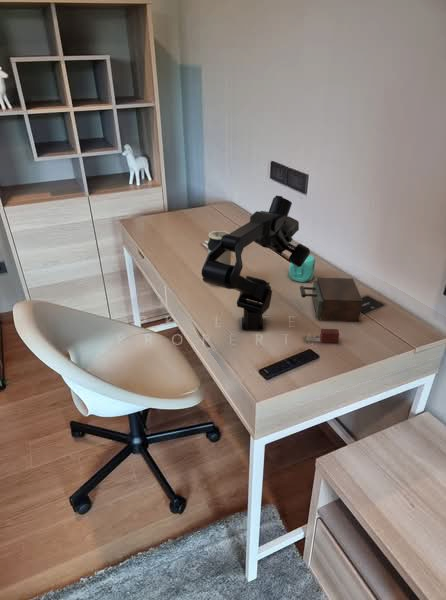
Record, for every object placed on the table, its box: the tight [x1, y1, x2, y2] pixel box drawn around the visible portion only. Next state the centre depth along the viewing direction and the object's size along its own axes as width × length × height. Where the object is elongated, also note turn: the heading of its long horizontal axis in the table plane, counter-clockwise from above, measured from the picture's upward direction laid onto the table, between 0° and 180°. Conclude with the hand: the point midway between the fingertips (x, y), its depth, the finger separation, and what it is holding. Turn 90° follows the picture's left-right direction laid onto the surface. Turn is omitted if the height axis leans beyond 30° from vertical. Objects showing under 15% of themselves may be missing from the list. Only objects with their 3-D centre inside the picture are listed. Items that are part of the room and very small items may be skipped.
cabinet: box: [316, 277, 363, 323], centre depth 137 cm, size 12×15×8 cm
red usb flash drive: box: [305, 328, 340, 344], centre depth 123 cm, size 9×2×3 cm, turn 87°
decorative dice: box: [288, 254, 316, 283], centre depth 156 cm, size 8×8×8 cm
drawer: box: [299, 280, 323, 318], centre depth 137 cm, size 15×13×6 cm
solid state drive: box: [360, 295, 385, 315], centre depth 141 cm, size 7×10×1 cm
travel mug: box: [207, 230, 232, 265], centre depth 151 cm, size 8×8×18 cm
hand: (286, 254), depth 141 cm, fingers open, 9 cm apart
